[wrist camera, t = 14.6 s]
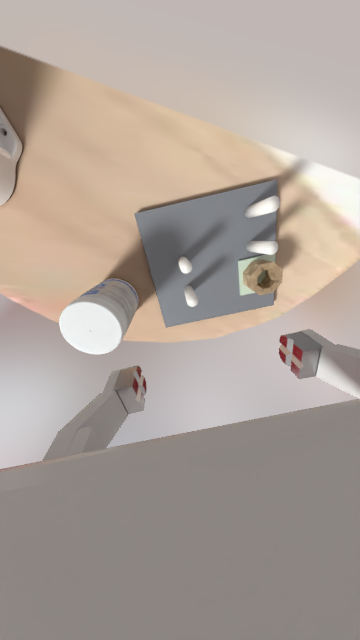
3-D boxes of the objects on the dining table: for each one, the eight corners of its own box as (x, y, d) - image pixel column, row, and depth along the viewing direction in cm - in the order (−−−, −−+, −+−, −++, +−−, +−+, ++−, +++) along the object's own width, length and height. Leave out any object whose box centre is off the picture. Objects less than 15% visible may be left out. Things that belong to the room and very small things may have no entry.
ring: (242, 264, 35) (250, 266, 32) (271, 257, 35) (283, 259, 32) (243, 291, 38) (251, 297, 34) (270, 286, 38) (281, 290, 34)
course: (135, 214, 32) (123, 205, 24) (273, 181, 31) (311, 160, 23) (166, 325, 42) (164, 346, 34) (270, 303, 41) (296, 319, 33)
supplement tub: (108, 268, 36) (73, 285, 23) (147, 294, 39) (135, 322, 26) (89, 303, 39) (47, 336, 26) (126, 325, 42) (105, 364, 29)
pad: (237, 260, 36) (239, 261, 35) (274, 252, 35) (275, 253, 35) (239, 294, 39) (240, 295, 38) (273, 287, 39) (274, 288, 38)
